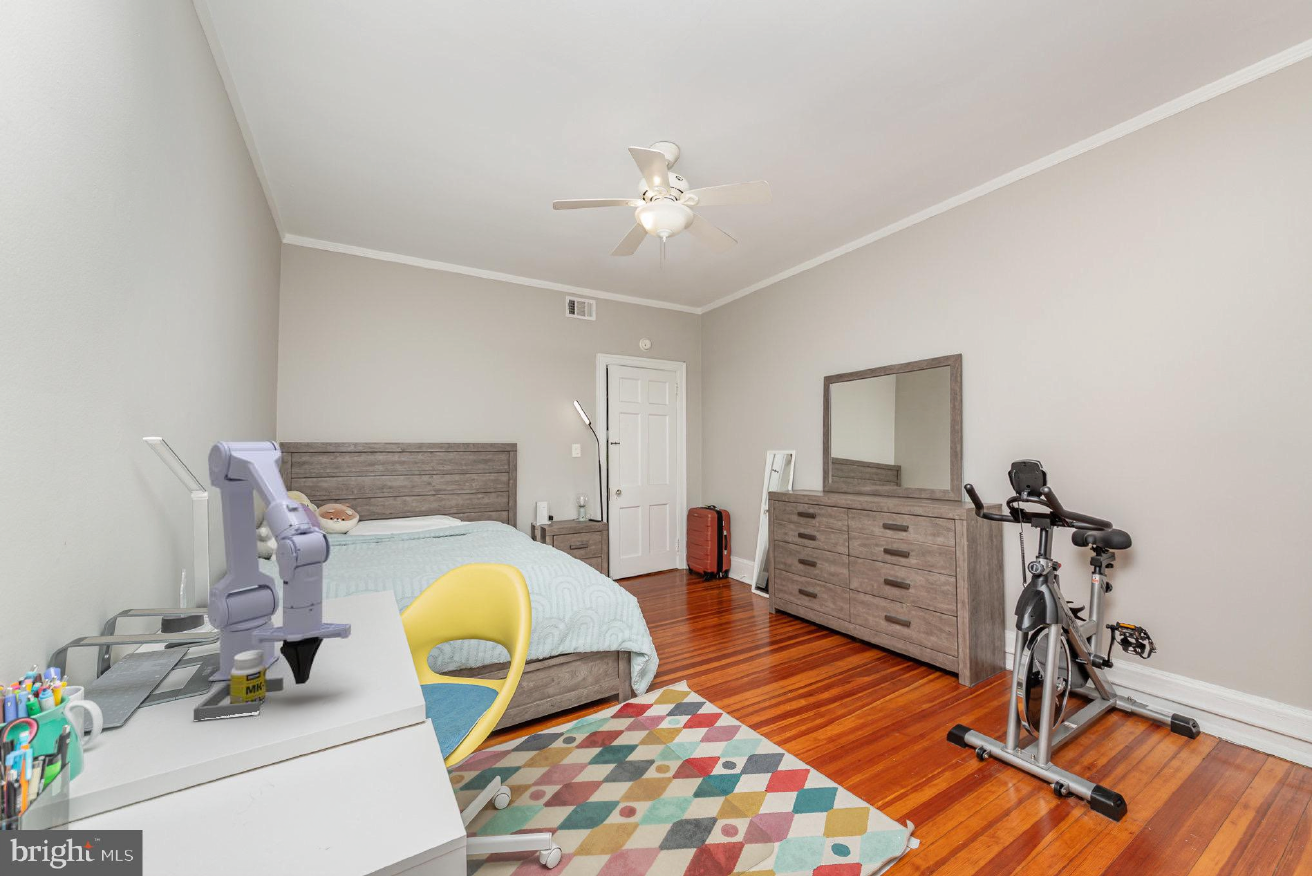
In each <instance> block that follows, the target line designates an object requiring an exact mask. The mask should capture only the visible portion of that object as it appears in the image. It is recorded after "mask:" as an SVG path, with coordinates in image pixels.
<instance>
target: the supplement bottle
mask: <svg viewBox="0 0 1312 876" xmlns="http://www.w3.org/2000/svg"><path fill="white" fill-rule="evenodd" d="M263 660H264V653H263V651H261V650H252V651H246V652H243V653H240V654H238V655H236V656H235V657H234V668H233V669H232V671H231V679H230V682H231V691H230V695H229V696H230V698H229V701H230V702H229V704H237V703H247V702H258V701H260V703H261V702H263V701H264V700H266V693H267V692H266V679H267V669H266V664H265V662H263ZM264 702H265V701H264ZM264 702H263V703H264ZM261 704H262V703H261Z"/></svg>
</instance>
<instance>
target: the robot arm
mask: <svg viewBox="0 0 1312 876" xmlns="http://www.w3.org/2000/svg"><path fill="white" fill-rule="evenodd" d="M207 458H208V460H207V461H208V463H207V464H208V474H209V475H208V476H209V480H210V485H211V487H215V488H218V489H219V492H220V498H221V513H222V524H223V525H222V526H223V539H224V551H225V552H224V553H225V565H226V575H225V576H224V577H223V578H222V579H220V580H219V581H218V582H217V583H215V584H214V585H213V586H212V587H211V588H210V589H209V594H208V595H209V596H208V598H209V599H208V604H207V609H206V611H207V612H206V614H207V618H208V621H209V624H210V625H211V627H213V629H215V630H219V670H217V671H216V672H215V673H213V675H211V676H210V677H208V681H209V682H215V681H216V682H217V681H223V680H224V681H225V680H227V681H228V680H231V671H232V669H233V668H234V657H235V656H236V655H238V654H240V653H243V652H246V651H252V650H261V651H263V653H264V660H263V662H265V664H266V670H267V669H268V668H269V667H270V666H271V665H272V664H274V663H275V662H276V661H277V660H278V659H279V658H280V655H282V656H283V658H284V659H285V660H286V662H287V663H288V666H289V667H290V670H291V672H292V676H293V678H294V679H293V680H294V684H295V685H303V684H306V683H307V682H308V680H309V679H310V674H311V671H312V666H313V664H314V661H315V658H316V655H317V652H318V651H319V648H320V647H321V645H322V642H323V641H324V639H336V638H340V639H348V638H349V637H350V636H351V635H352V623H332V622H323V574H324V573H323V572H324V571H323V570H324V569H323V567H324V566H323V564H324V563H326V562H328V560H329V559H330V555H331V542H330V539H329V538H328V534H327V533H326V532H325V531H324V530H320V529H319V528H318V527H317V526H313V525H312V523H311V521H310V519H309V518H308V515H307V514H306V512H305V510H304V508H303V506H302V504H301V503H300V502H299V501H298V500H295V499H291V498H290V496H289V492H288V491H287V488H286V486H285V483H284V479H283V477H282V475H281V473H280V469H281V465H282V450H281V447H280V446H279V444H278V443H277V442H275V441H274V440H268V441H223V440H222V441H221V440H220V441H216V442H215V443H214V444H213V445H212V446H211V449H210V450H209V453H208V456H207ZM254 490H255V492H256V494H257V495H258V497H260V499H261V500H262V502H263V503H264V505H265V507H266V510H265V511H264V514H263V519H264V521H265V523H266V524H267V525H266V526H267V527H268V528H269V531H270V533H271V535H272V536H273V539H274V541H275V543H276V549H275V552H274V555H275V560H276V563H277V565H278V575H279V579H280V580H281V581H282V626H277V627H276V626H275V624H274V622H273V621H272V617H273V616H274V615H276V613H277V611H278V609H279V607H280V596H279V592H278V589H277V588H276V583H275V578H274V577H273V576H271V575H269V574H267V573H265V572H262V571H261V570H260V565H259V564H260V563H259V552H258V551H259V550H258V539H257V538H258V536H257V527H256V525H257V524H256V511H255V510H256V509H255V501H254V500H255V499H254ZM255 586H256V587H255ZM247 588H248V589H247ZM236 590H237V591H236ZM277 642H279V643H280V642H282V645H281V647H280V648H279V653H280V654H279V653H278V654H276V653H275V650H276V649H275V646H276V645H275V644H276V643H277Z"/></svg>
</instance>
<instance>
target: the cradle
mask: <svg viewBox="0 0 1312 876" xmlns="http://www.w3.org/2000/svg"><path fill="white" fill-rule="evenodd" d="M277 690H278V691H283V690H284V677H273V678H271V677H270V678H266V691H267V692H274V691H275V692H276V691H277ZM230 691H231V681H226V682H224V683H223V684H222V685H221V686H220V687H218V688H217V689H216V690H215V691H214V692H212V693H211V694H210V695H209V696H208V697H206V698H205V699H204V700H203V701H202V702H200V703H199V704H198V705H197V706H196V707H195V708H193V721H194V720H201V719H205V718H216V717H221V716H228V715H229V716H230V715H235V714H243V713H252V712H257V711H259V710H260V711H261V704H260V701H258V702H247V703H237V704H230V703H227V704H219V703H220V702H222V701H223V700H224V699H225V698H226V697H227V696H230Z"/></svg>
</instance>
